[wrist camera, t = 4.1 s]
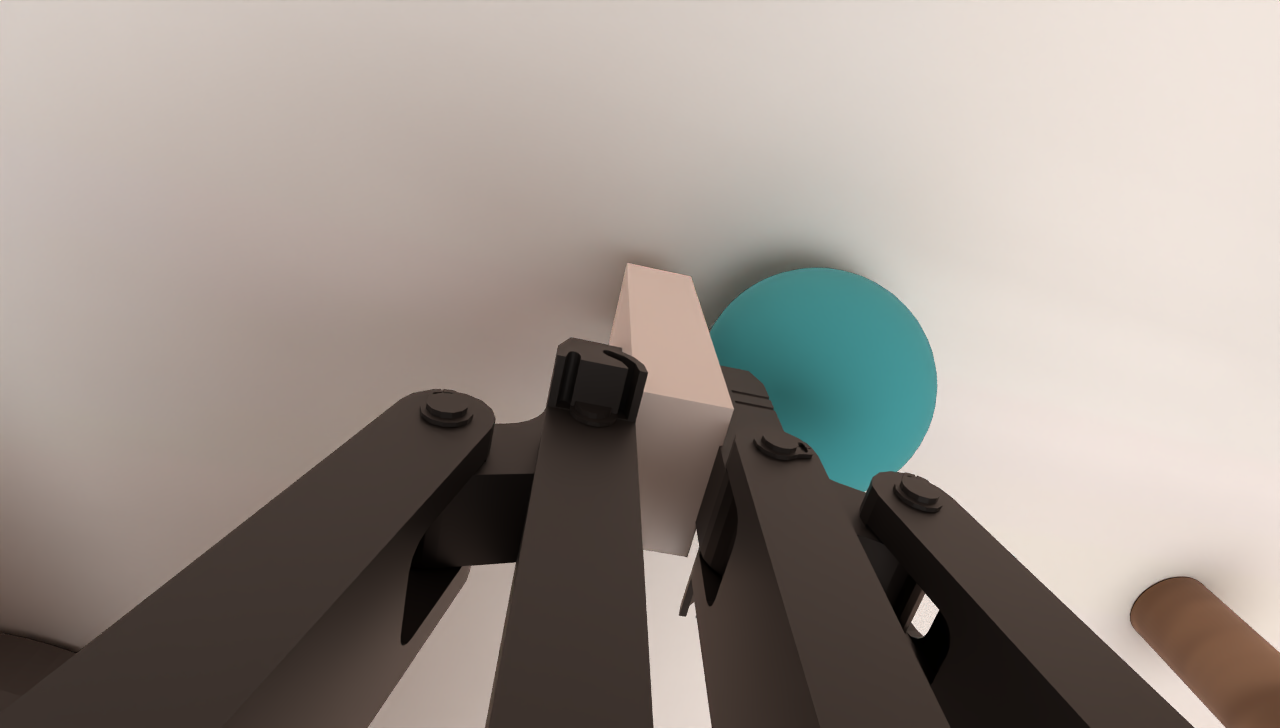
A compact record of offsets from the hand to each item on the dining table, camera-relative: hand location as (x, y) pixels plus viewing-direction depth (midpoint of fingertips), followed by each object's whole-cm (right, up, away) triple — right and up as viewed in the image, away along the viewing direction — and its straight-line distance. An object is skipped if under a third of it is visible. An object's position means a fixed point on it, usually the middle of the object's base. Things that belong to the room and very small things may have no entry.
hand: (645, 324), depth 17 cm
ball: (+4, -1, 0) cm, 4 cm away
